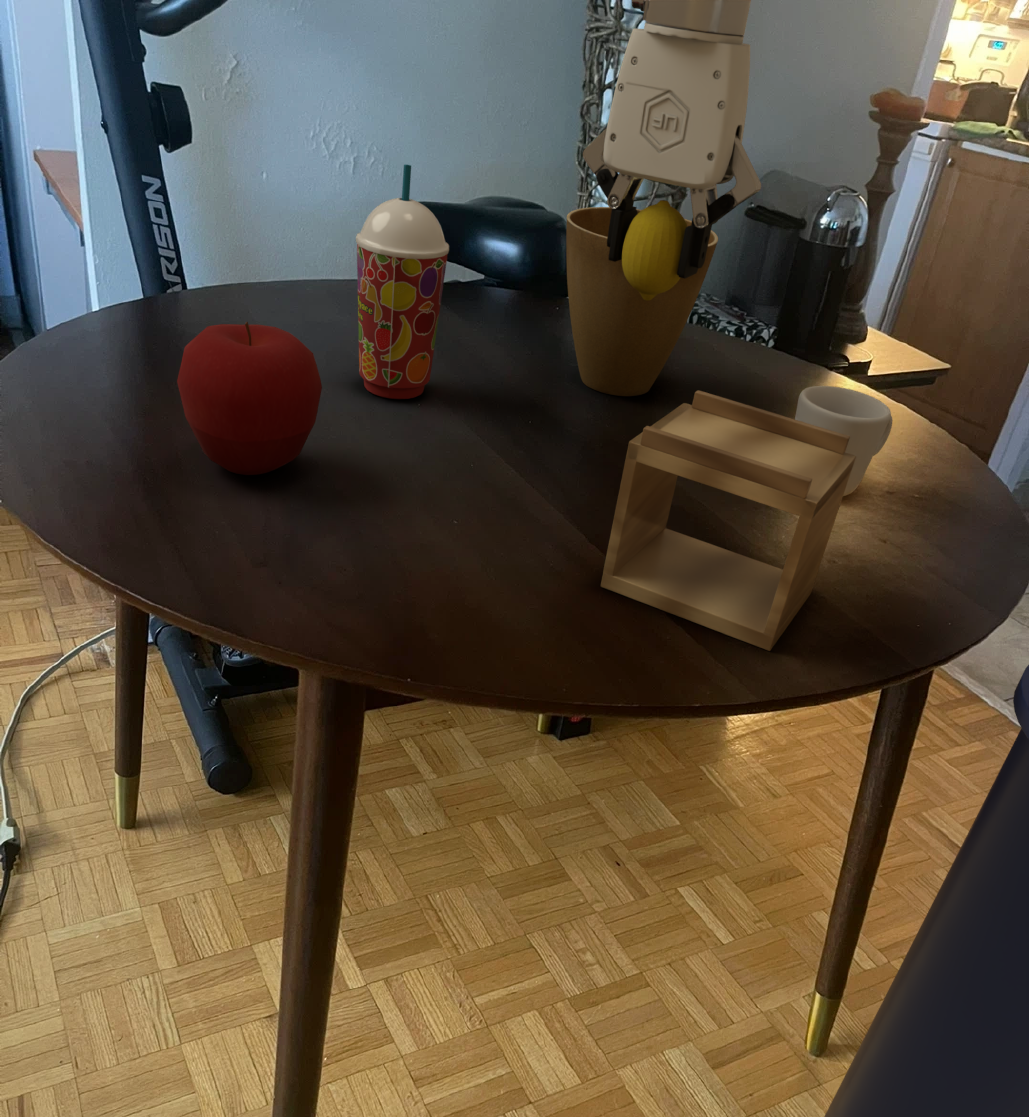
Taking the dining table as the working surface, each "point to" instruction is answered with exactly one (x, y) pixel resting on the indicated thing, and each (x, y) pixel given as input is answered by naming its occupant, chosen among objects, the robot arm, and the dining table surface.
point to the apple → (249, 395)
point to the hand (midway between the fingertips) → (653, 264)
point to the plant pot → (620, 310)
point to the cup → (848, 422)
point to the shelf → (739, 468)
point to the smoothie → (399, 295)
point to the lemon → (653, 249)
